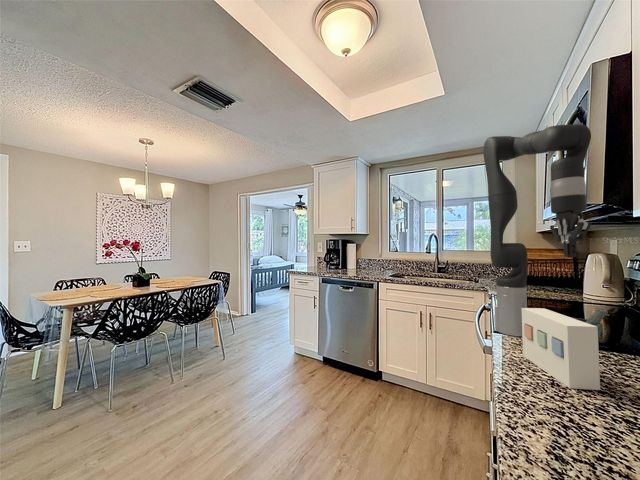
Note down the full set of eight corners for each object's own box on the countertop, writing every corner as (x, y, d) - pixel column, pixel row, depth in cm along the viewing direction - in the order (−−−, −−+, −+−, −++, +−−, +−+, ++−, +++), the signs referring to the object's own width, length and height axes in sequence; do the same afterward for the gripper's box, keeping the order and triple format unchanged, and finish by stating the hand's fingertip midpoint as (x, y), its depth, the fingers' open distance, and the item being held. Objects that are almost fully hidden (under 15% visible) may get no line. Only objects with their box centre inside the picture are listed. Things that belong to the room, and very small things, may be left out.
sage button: (544, 347, 71) (544, 334, 71) (537, 342, 74) (536, 330, 74) (553, 347, 71) (553, 334, 71) (545, 343, 74) (545, 331, 74)
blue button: (560, 356, 65) (560, 342, 65) (551, 351, 68) (551, 338, 69) (570, 356, 65) (569, 342, 65) (560, 351, 68) (560, 338, 68)
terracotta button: (530, 339, 77) (530, 327, 77) (524, 335, 80) (524, 324, 80) (539, 339, 77) (538, 328, 77) (532, 336, 80) (531, 324, 80)
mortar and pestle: (562, 342, 92) (560, 306, 93) (562, 335, 99) (561, 301, 100) (610, 350, 85) (609, 311, 85) (607, 342, 92) (606, 306, 92)
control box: (569, 388, 63) (567, 325, 64) (523, 355, 82) (521, 307, 82) (600, 390, 62) (597, 326, 63) (545, 356, 81) (544, 308, 81)
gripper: (602, 190, 72) (605, 257, 71) (566, 199, 85) (568, 256, 84) (569, 191, 73) (572, 258, 72) (538, 200, 86) (540, 256, 85)
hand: (570, 257), depth 78 cm, fingers closed
